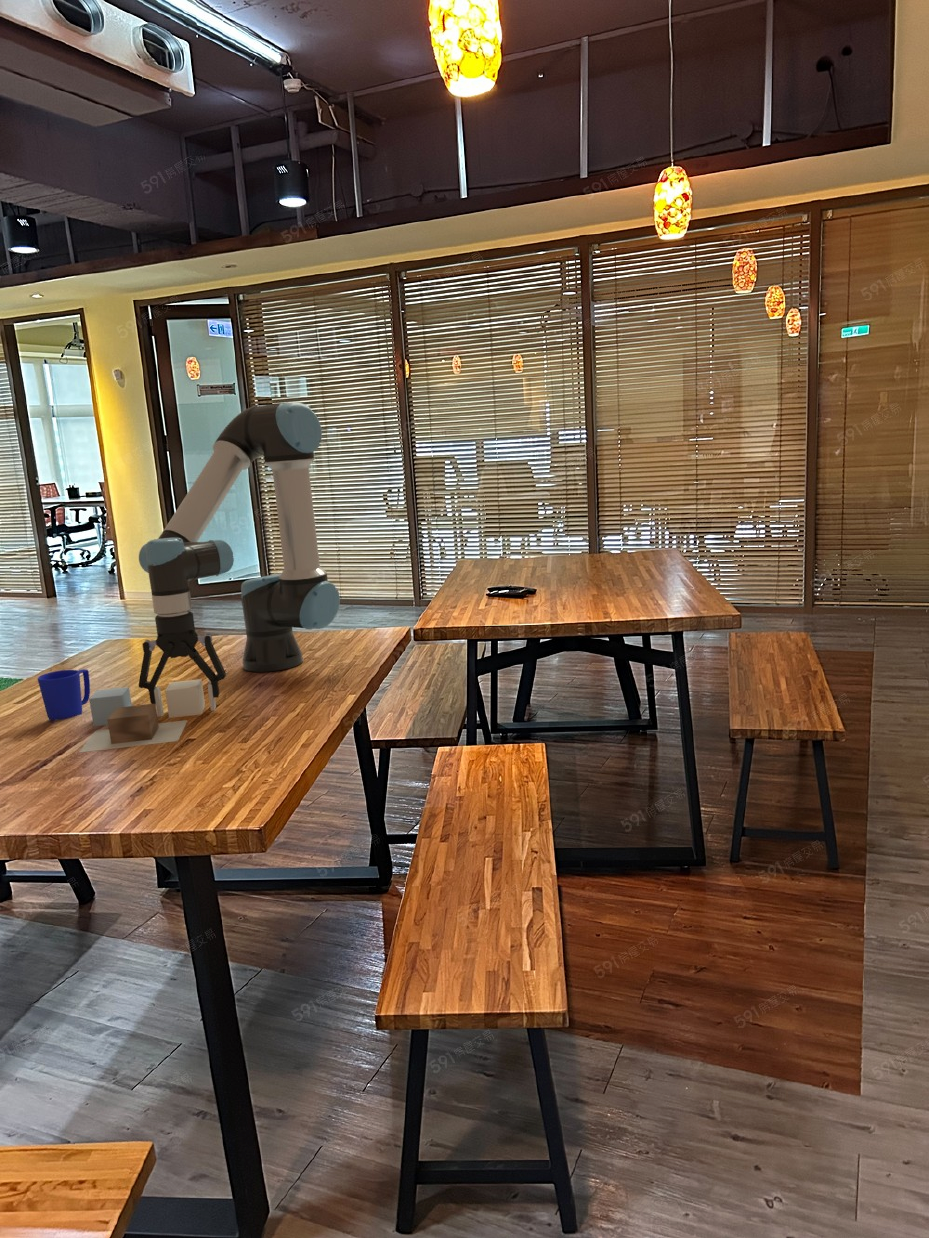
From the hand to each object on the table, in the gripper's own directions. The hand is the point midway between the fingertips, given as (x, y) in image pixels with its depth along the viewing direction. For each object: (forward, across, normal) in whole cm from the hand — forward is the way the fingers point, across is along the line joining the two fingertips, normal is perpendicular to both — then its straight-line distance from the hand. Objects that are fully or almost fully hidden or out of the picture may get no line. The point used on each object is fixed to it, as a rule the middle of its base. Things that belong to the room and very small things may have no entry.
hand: (187, 715), depth 182 cm
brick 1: (0, +15, 0) cm, 15 cm away
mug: (0, +26, -10) cm, 28 cm away
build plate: (0, +8, +13) cm, 15 cm away
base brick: (-1, +8, +13) cm, 15 cm away
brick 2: (0, 0, 0) cm, 0 cm away
